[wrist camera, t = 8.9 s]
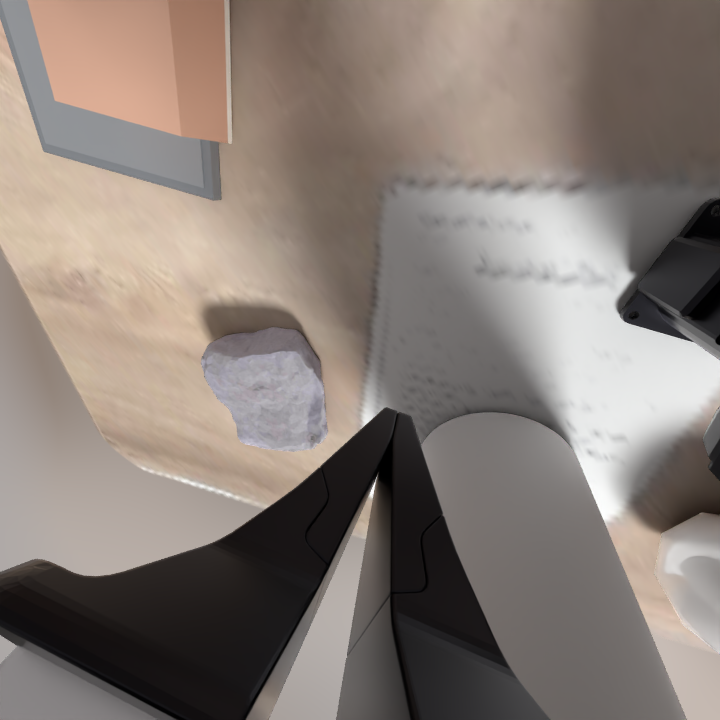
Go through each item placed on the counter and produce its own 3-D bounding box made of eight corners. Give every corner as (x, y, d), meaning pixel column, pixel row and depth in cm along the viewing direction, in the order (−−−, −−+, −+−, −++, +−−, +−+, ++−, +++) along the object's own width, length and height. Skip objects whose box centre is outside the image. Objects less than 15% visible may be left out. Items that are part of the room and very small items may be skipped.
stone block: (315, 313, 26) (210, 332, 27) (302, 338, 22) (180, 359, 23) (347, 417, 32) (260, 428, 33) (342, 453, 27) (242, 463, 29)
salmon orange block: (148, -204, 10) (-37, -230, 10) (181, 136, 15) (54, 100, 16) (227, -108, 13) (82, -133, 14) (232, 143, 18) (125, 114, 19)
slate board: (198, -246, 12) (180, -274, 11) (221, 199, 21) (212, 200, 20) (-74, -269, 14) (-104, -295, 13) (55, 152, 23) (42, 151, 22)
